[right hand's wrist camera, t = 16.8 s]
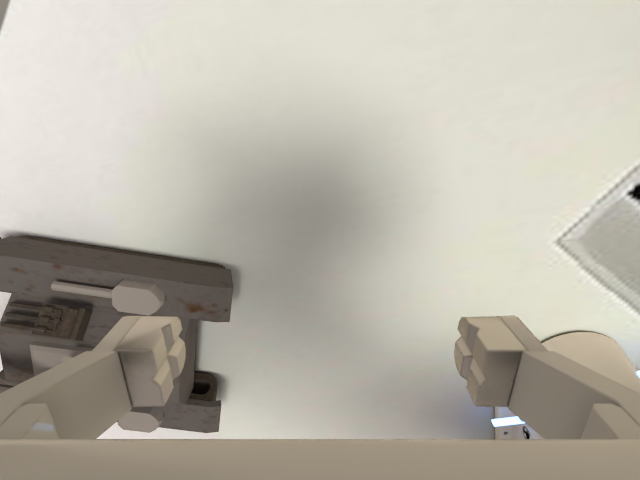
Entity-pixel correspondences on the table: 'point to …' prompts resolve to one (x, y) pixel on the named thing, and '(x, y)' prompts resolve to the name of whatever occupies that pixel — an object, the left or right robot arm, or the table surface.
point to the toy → (108, 316)
